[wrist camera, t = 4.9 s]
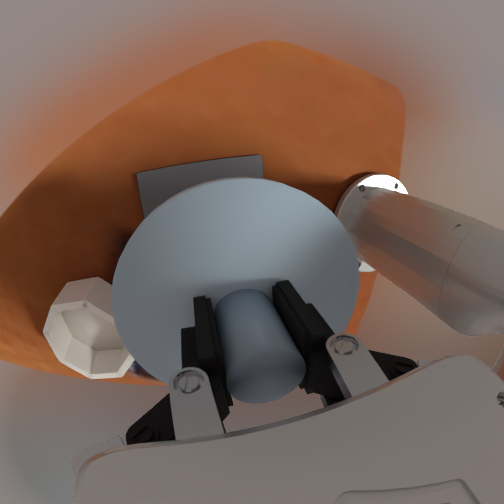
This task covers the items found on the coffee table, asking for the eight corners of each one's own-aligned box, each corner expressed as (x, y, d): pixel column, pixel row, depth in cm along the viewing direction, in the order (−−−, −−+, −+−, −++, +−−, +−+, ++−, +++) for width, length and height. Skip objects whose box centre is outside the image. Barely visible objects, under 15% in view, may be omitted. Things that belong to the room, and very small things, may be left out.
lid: (352, 167, 12) (431, 185, 7) (339, 358, 16) (376, 411, 12) (86, 203, 10) (27, 244, 5) (157, 396, 14) (157, 464, 10)
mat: (260, 154, 25) (261, 154, 25) (268, 265, 30) (270, 267, 30) (137, 172, 23) (136, 173, 23) (160, 284, 28) (160, 287, 27)
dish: (123, 272, 26) (113, 295, 22) (149, 346, 30) (146, 374, 26) (47, 285, 25) (30, 308, 20) (79, 353, 29) (71, 379, 24)
